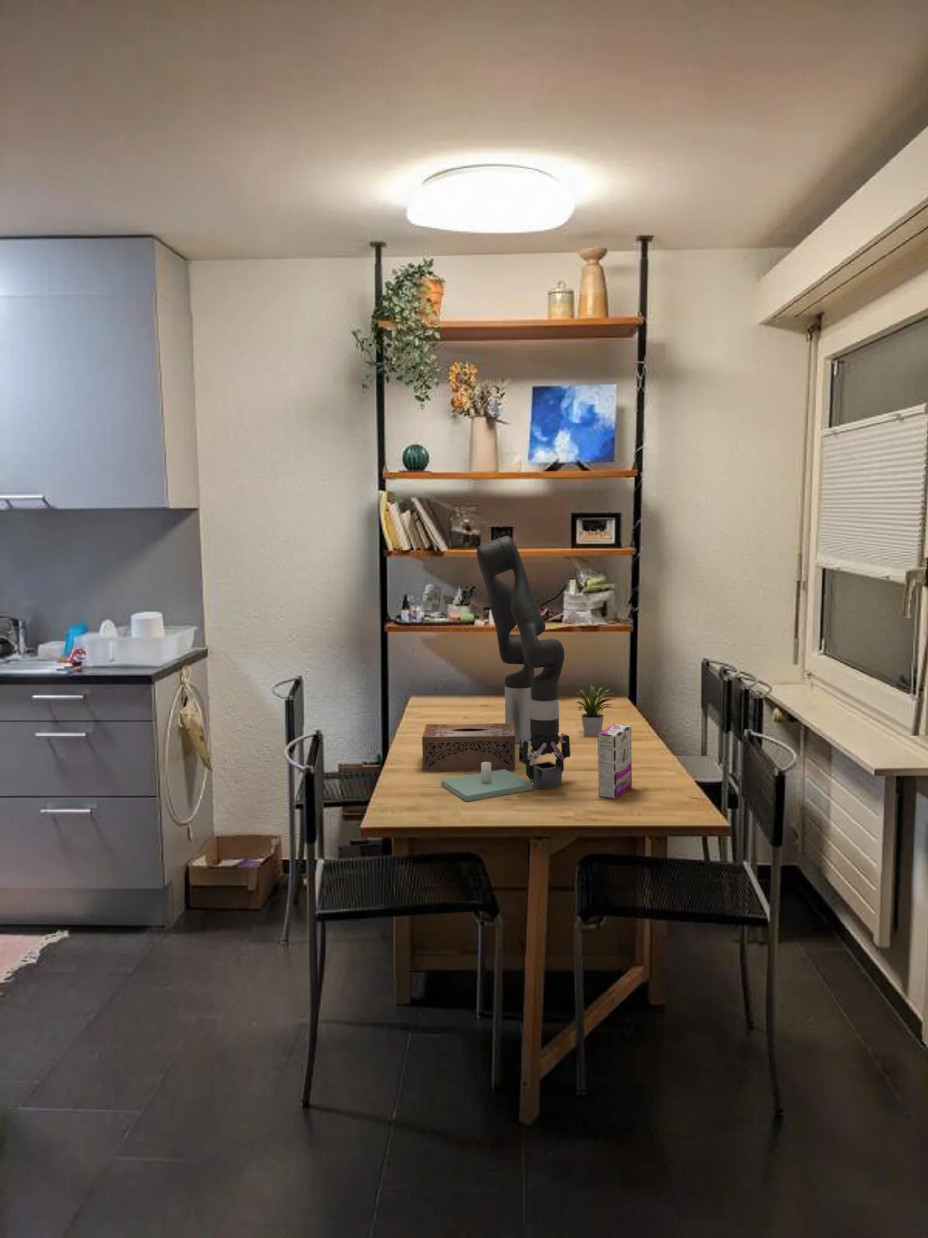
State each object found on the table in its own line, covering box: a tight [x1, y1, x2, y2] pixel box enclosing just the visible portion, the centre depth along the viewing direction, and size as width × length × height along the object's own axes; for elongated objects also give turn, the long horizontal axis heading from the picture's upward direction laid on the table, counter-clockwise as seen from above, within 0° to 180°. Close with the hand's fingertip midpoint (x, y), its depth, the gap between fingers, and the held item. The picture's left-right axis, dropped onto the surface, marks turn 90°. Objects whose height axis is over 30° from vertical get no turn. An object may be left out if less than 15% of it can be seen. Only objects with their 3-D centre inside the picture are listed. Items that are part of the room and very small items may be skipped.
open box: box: [529, 760, 563, 789], centre depth 230 cm, size 6×6×5 cm
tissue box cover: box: [421, 722, 516, 772], centre depth 250 cm, size 26×14×10 cm, turn 88°
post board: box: [441, 762, 534, 802], centre depth 228 cm, size 19×15×6 cm
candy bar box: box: [597, 723, 633, 800], centre depth 222 cm, size 11×5×16 cm, turn 148°
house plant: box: [575, 683, 615, 738], centre depth 277 cm, size 14×14×16 cm
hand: (544, 776), depth 230 cm, fingers open, 8 cm apart
